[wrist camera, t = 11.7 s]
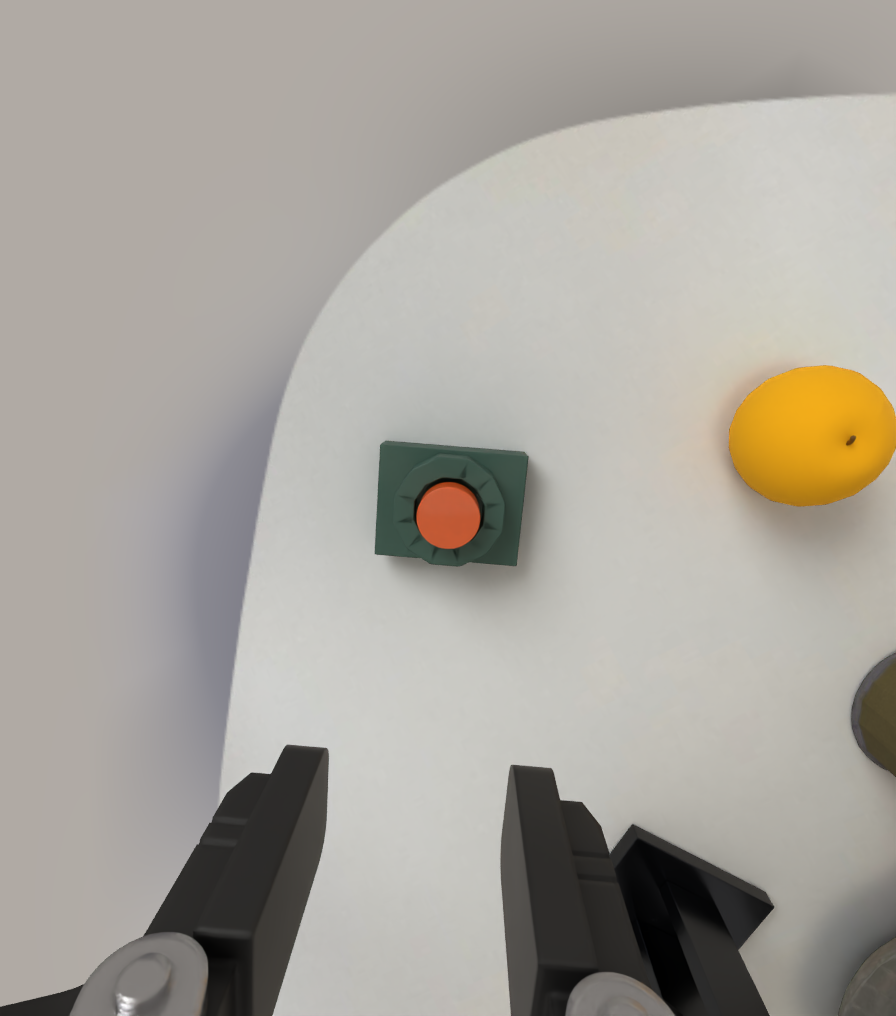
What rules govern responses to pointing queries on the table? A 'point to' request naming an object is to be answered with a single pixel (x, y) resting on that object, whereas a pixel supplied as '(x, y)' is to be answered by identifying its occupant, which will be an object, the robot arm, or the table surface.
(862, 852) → the table surface
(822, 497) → the orange
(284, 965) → the robot arm
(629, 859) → the bracket
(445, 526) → the button
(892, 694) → the canister
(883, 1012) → the bowl
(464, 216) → the table surface
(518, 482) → the button box
